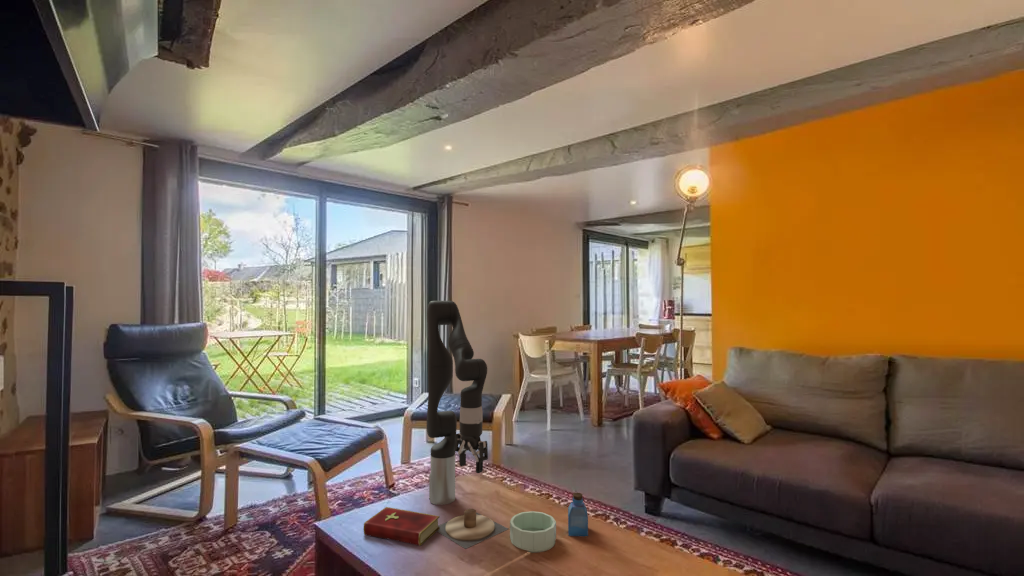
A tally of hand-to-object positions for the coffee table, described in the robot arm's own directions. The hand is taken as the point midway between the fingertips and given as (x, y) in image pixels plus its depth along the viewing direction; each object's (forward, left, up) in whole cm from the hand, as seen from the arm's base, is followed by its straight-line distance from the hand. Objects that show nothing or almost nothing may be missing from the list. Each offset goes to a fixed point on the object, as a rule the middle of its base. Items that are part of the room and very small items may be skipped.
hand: (470, 469), depth 157 cm
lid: (0, 0, -19) cm, 19 cm away
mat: (0, 0, -20) cm, 20 cm away
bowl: (+19, +10, -20) cm, 29 cm away
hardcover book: (-14, -17, -20) cm, 30 cm away
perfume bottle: (+25, +25, -20) cm, 41 cm away
